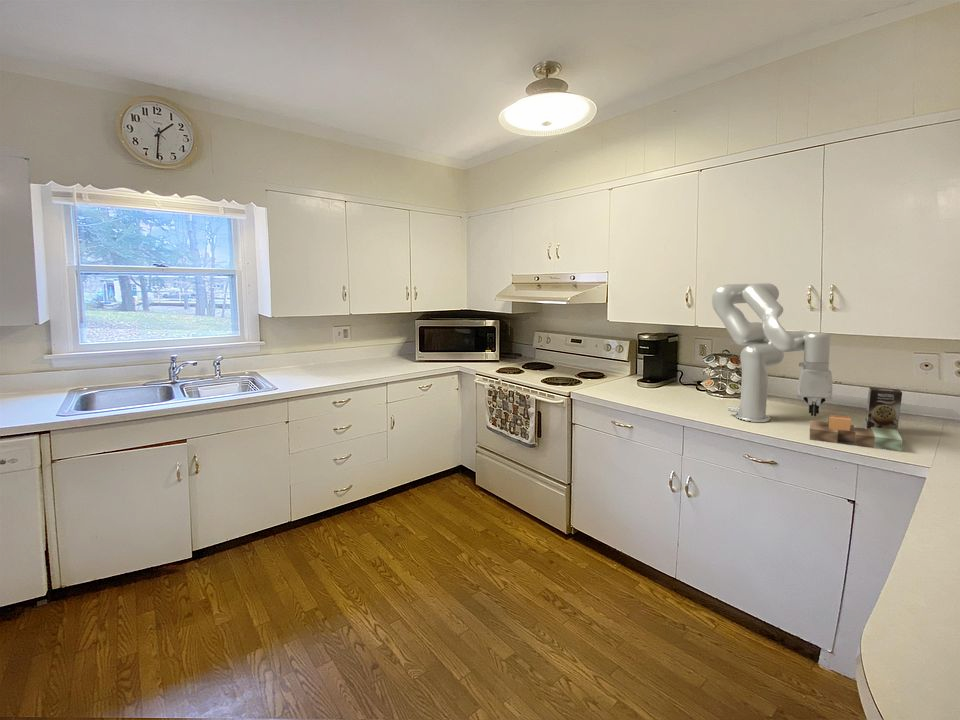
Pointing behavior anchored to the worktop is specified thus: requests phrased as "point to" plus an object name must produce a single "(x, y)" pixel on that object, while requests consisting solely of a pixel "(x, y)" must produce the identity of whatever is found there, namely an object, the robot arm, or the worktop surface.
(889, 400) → the coffee box
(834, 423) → the orange block
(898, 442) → the board
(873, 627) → the worktop surface
